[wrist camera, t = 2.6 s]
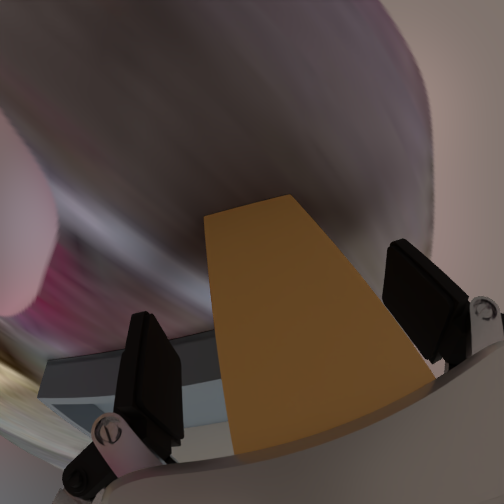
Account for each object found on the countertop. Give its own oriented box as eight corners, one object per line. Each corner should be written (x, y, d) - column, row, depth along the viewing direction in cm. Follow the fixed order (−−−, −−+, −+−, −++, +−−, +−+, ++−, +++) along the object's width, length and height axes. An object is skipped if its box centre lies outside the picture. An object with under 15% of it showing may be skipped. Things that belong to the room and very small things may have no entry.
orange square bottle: (203, 216, 12) (258, 556, 2) (290, 193, 12) (482, 457, 2) (225, 285, 14) (283, 538, 4) (299, 264, 14) (415, 488, 4)
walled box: (48, 360, 15) (32, 415, 11) (287, 309, 16) (316, 378, 12) (159, 450, 26) (161, 485, 22) (303, 424, 27) (316, 460, 23)
